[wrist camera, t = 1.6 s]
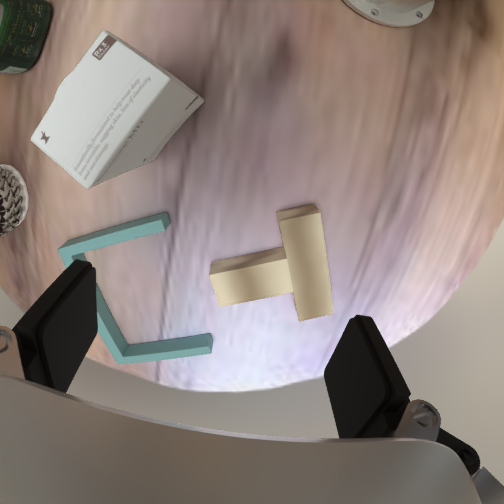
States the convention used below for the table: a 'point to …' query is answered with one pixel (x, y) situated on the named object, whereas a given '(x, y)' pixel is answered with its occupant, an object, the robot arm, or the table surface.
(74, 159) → the skincare box
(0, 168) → the decorative candle
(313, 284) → the tee block
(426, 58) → the table surface
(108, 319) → the dock
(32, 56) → the coffee jar
